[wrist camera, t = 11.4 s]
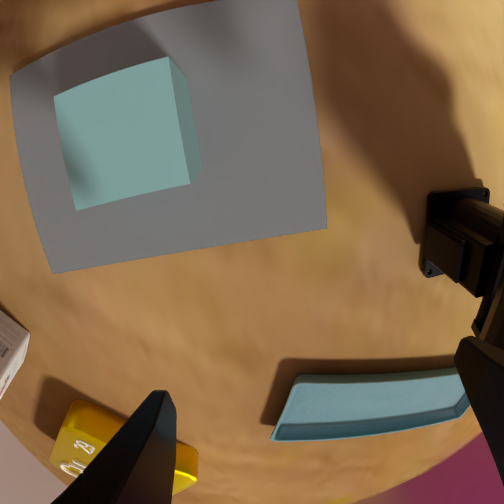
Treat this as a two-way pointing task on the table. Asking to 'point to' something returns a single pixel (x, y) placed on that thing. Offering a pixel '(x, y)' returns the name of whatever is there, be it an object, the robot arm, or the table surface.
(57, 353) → the table surface
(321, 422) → the teal serving tray
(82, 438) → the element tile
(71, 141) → the teal cube
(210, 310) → the table surface
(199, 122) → the slate mat
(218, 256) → the table surface
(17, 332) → the ink box
